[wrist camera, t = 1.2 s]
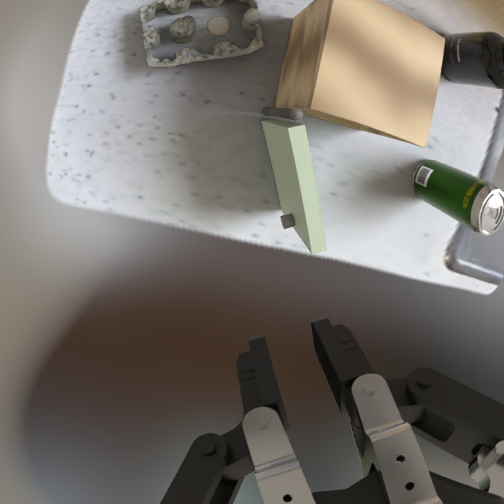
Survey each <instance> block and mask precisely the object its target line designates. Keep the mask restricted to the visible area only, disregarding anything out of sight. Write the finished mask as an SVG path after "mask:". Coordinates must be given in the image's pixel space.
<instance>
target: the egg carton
mask: <svg viewBox="0 0 504 504" xmlns="http://www.w3.org/2000/svg"><path fill="white" fill-rule="evenodd" d="M198 1H202V3H203V4H204V5H205V6H207V7H211V8H215V7H218V6H220V5H221V4H223V2H224V0H159V1H157V2H155V3H153V4H151V5H145V6H142V7H141V8H140V17H141V24H142V34H143V40H144V48H145V54H146V59H147V62H148V65H149V66H150V67H164V66H165V67H166V68H167V69H168V68H173V67H176V66H177V65H180V64H187V63H191V62H193V61H205V60H211V59H221V58H230V57H235V56H240V55H245V54H250V53H252V52H254V51H256V50H257V49H259V48H261V47H263V37H262V31H261V25H260V19H259V11H258V7H257V3H256V0H239V1H241V2H243V3H248V4H250V8H249V9H248V10H247V11H246V12H245V13H244V15H243V17H242V25H243V27H244V28H245V29H246V30H248V31H251V32H255V33H256V37H255V38H254V39H253V41H252V42H251V44H250V45H249V46H248V48H246V49H239V48H238V47H237V46H236V45H235V44H234V43H233V42H222V43H219V42H218V44H217V45H216V46H215V47H214V51H213V55H210V54H206V55H204V54H203V53H199V52H198V50H197V49H195V48H192V49H191V48H183V49H181V50H179V51H178V52H177V53H176V57H175V59H174V60H173V61H171V60H169V59H167V58H166V59H164V60H163V61H161V60H160V59H158V58H154V57H153V53H154V51H155V50H156V49H157V48H158V46H159V45H160V43H161V36H160V35H159V33H158V30H156V29H155V28H154V27H153V26H148V25H146V23H147V22H149V21H151V20H152V19H153V18H154V17H155V15H156V11H157V10H160V9H164V8H167V9H168V11H169V12H171V13H172V14H182V13H184V12H186V11H187V10H188V9H189V7H190V4H192V3H195V2H198ZM169 28H170V34H171V36H172V38H173V39H174V40H175V41H176V42H178V43H187V42H189V41H191V40H192V39H193V38H194V36H195V34H196V25H195V21H194V18H193V17H192V16H186V17H183V18H178V19H175V20H174V21H173V23H172V24H171V25H170V27H169ZM230 28H231V25H230V22H229V21H228V20H227V19H226V18H224V17H220V16H217V17H214V18H212V19H210V20H209V22H208V23H207V30H208V31H209V32H210V34H212V35H215V36H222V35H225V34H226V33H227V32H228V31H229V30H230ZM202 56H205V57H202Z"/></svg>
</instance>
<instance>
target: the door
mask: <svg viewBox="0 0 504 504" xmlns="http://www.w3.org/2000/svg"><path fill="white" fill-rule="evenodd" d="M261 122H262V126H263V131H264V135H265V139H266V143H267V147H268V152H269V156H270V160H271V164H272V169H273V173H274V178H275V182H276V186H277V191H278V196H279V200H280V205H281V209H282V212H283V214H284V215H282V216H281V222H282V225H283V228H284V229H286V228H290V227H293V228H294V229H295V231H296V232H297V233H298V235H299V236H300V238H301V239H302V241H303V242H304V243H305V245H306V246H307V248H308V249H309V251H310V252H311V254H315V253H318V252H322V251H325V250H326V244H325V237H324V230H323V224H322V217H321V210H320V204H319V198H318V192H317V186H316V180H315V175H314V169H313V164H312V158H311V153H310V148H309V143H308V138H307V133H306V128H305V125H304V124H299V123H295V122H290V121H285V120H280V119H275V118H272V119H267V120H263V121H261Z"/></svg>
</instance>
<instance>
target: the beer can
mask: <svg viewBox="0 0 504 504" xmlns="http://www.w3.org/2000/svg"><path fill="white" fill-rule="evenodd" d="M412 185H413V189H414V191H415V193H416V195H417V196H418V197H419V198H420V199H421V200H423V201H425V202H427V203H428V204H430V205H432V206H434V207H435V208H437V209H439V210H441V211H442V212H444V213H446V214H447V215H449V216H451V217H452V218H454V219H456V220H457V221H459V222H460V223H462V224H464V225H465V226H467V227H468V228H470V229H472V230H473V231H475V232H476V233H478V234H483V235H485V236H490V235H492V234H493V233H495V232H496V231H497V229H498V228H499V227H500V225H501V224H502V221H503V219H504V193H503V192H502V191H501V190H499V189H498V188H497V187H496V186H495V185H493V184H491V183H489V182H487V181H485V180H482V179H480V178H478V177H475V176H473V175H471V174H468V173H466V172H463V171H461V170H458V169H456V168H453V167H451V166H448V165H446V164H443V163H440V162H438V161H435V160H428V161H425V162H422V163H421V164H419V165H418V166H417V168H416V169H415V171H414V174H413V178H412Z"/></svg>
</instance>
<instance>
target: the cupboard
mask: <svg viewBox="0 0 504 504" xmlns="http://www.w3.org/2000/svg"><path fill="white" fill-rule="evenodd" d="M444 45H445V38H443V37H442V36H440V35H439V34H437V33H436V32H434V31H432V30H431V29H429V28H428V27H426V26H424V25H423V24H421V23H419V22H417V21H416V20H414V19H412V18H410V17H409V16H407V15H405V14H403V13H401V12H399V11H398V10H396V9H394V8H392V7H390V6H388V5H386V4H384V3H382V2H380V1H378V0H315V1H313V2H312V3H311V4H310V5H308V6H307V7H306V8H305V9H304V10H302V11H301V12H300V13H299V14H298V15H297V16H295V17H294V18H293V22H292V26H291V31H290V35H289V40H288V44H287V49H286V53H285V58H284V62H283V67H282V71H281V76H280V81H279V85H278V90H277V94H276V99H275V103H274V107H277V108H269V107H266V108H264V109H263V114H264V115H268V116H274V117H281V118H286V119H292V120H301V119H302V118H303V114H306V115H310V116H314V117H317V118H321V119H325V120H328V121H332V122H335V123H339V124H342V125H345V126H348V127H352V128H355V129H358V130H361V131H365V132H369V133H373V134H377V135H381V136H385V137H389V138H393V139H396V140H400V141H404V142H407V143H411V144H414V145H417V146H421V147H424V148H425V145H426V141H427V137H428V133H429V128H430V124H431V120H432V115H433V110H434V106H435V101H436V95H437V90H438V85H439V79H440V73H441V67H442V60H443V53H444Z"/></svg>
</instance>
